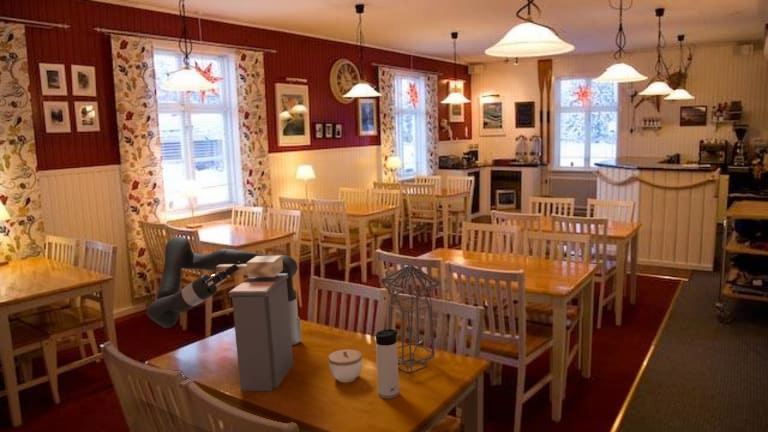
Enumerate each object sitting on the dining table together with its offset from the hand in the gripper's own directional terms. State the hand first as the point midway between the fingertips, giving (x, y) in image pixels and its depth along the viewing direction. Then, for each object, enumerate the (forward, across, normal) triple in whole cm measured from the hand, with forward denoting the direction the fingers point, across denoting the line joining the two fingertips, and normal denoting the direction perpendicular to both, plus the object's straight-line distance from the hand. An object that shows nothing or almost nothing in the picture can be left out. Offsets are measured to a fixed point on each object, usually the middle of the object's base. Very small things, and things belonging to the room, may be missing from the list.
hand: (238, 265), depth 193 cm
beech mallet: (+1, 0, +4) cm, 4 cm away
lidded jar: (+13, -6, +50) cm, 52 cm away
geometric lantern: (+31, +3, +60) cm, 67 cm away
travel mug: (+26, -17, +57) cm, 65 cm away
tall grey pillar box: (-10, -6, +36) cm, 38 cm away
